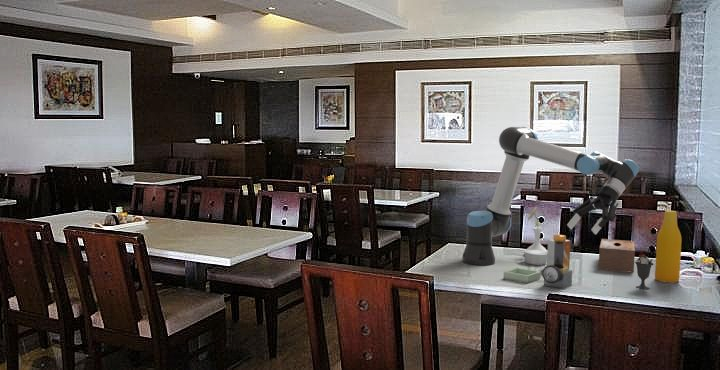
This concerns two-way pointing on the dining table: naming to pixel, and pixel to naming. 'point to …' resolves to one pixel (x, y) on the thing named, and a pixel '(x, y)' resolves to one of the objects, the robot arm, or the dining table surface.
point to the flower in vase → (536, 234)
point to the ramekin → (536, 257)
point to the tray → (522, 275)
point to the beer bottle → (668, 249)
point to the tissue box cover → (616, 255)
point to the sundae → (643, 269)
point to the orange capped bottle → (559, 250)
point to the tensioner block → (557, 276)
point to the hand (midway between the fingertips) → (581, 229)
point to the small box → (551, 253)
